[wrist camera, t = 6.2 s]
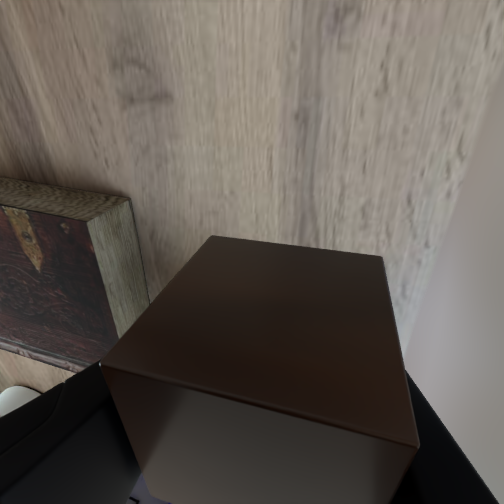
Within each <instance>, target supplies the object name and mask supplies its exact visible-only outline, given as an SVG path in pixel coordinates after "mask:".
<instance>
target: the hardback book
mask: <svg viewBox="0 0 504 504" xmlns="http://www.w3.org/2000/svg"><path fill="white" fill-rule="evenodd" d="M149 305H150V302H149V296H148V291H147V285H146V280H145V274H144V269H143V263H142V258H141V253H140V247H139V242H138V236H137V231H136V225H135V220H134V214H133V209H132V203H131V199H129V198H123V197H117V196H111V195H105V194H99V193H93V192H87V191H81V190H75V189H70V188H64V187H58V186H52V185H46V184H40V183H34V182H28V181H22V180H16V179H10V178H4V177H0V349H3V350H6V351H9V352H12V353H15V354H18V355H21V356H24V357H27V358H31V359H34V360H37V361H40V362H43V363H46V364H49V365H52V366H55V367H58V368H61V369H65V370H68V371H71V372H74V373H78V372H80V371H82V370H83V369H85V368H87V367H88V366H90V365H92V364H93V363H95V362H97V361H98V360H100V359H102V358H103V357H104V356H105V355H106V354H107V353H108V351H109V350H110V349H111V348H112V347H113V346H114V345H115V344H116V342H117V341H118V340H119V339H120V338H121V337H122V336H123V334H124V333H125V332H126V331H127V330H128V329H129V328H130V327H131V325H132V324H133V323H134V322H135V321H136V320H137V319H138V317H139V316H140V315H141V314H142V313H143V312H144V311H145V310H146V308H147V307H148V306H149Z"/></svg>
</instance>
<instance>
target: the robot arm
mask: <svg viewBox="0 0 504 504" xmlns="http://www.w3.org/2000/svg"><path fill="white" fill-rule="evenodd" d="M100 361H101V359H100V360H98V361H97V362H95V363H93V364H92V365H90V366H88V367H87V368H85V369H83V370H82V371H80V372H78V373H77V374H75V375H73V376H72V377H70V378H68V379H67V380H65V382H62V383H60V384H58V385H56V386H55V387H53V388H51V389H50V390H48V391H46V392H45V393H43V394H41V395H40V396H38V397H36V398H34V399H33V400H31V401H29V402H27V403H26V404H24V405H22V406H20V407H19V408H17V409H15V410H13V411H11V412H9V413H7V414H6V415H4V416H2V417H0V504H126V503H127V501H128V499H129V497H130V495H131V493H132V491H133V489H134V487H135V485H136V483H137V481H138V479H139V477H140V475H141V473H142V472H141V469H140V467H139V464H138V462H137V459H136V457H135V454H134V452H133V449H132V447H131V444H130V442H129V439H128V436H127V434H126V431H125V429H124V426H123V424H122V421H121V419H120V416H119V414H118V411H117V409H116V406H115V403H114V401H113V398H112V396H111V393H110V391H109V388H108V386H107V383H106V381H105V378H104V376H103V373H102V370H101V368H100V365H99V364H100ZM405 372H406V377H407V382H408V387H409V392H410V397H411V402H412V407H413V412H414V417H415V422H416V427H417V432H418V437H419V442H420V447H419V449H418V451H417V453H416V455H415V457H414V459H413V461H412V463H411V465H410V467H409V469H408V471H407V473H406V475H405V476H404V478H403V480H402V482H401V484H400V486H399V488H398V490H397V492H396V494H395V496H394V498H393V500H392V502H391V503H390V504H499V503H498V501H497V500H496V498H495V497H494V495H493V494H492V493H491V491H490V490H489V488H488V487H487V485H486V484H485V483H484V481H483V480H482V478H481V477H480V475H479V474H478V473H477V471H476V470H475V468H474V467H473V465H472V464H471V463H470V461H469V460H468V458H467V457H466V455H465V454H464V453H463V451H462V450H461V448H460V447H459V446H458V444H457V443H456V441H455V440H454V439H453V437H452V436H451V434H450V433H449V431H448V430H447V428H446V427H445V426H444V424H443V423H442V421H441V420H440V418H439V417H438V416H437V414H436V413H435V411H434V410H433V408H432V407H431V406H430V404H429V403H428V401H427V400H426V398H425V397H424V396H423V394H422V393H421V391H420V390H419V388H418V387H417V386H416V384H415V383H414V381H413V380H412V378H411V377H410V376H409V374H408V373H407V371H406V370H405Z"/></svg>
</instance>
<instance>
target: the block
mask: <svg viewBox="0 0 504 504" xmlns="http://www.w3.org/2000/svg"><path fill="white" fill-rule="evenodd" d="M99 365H100V368H101V370H102V373H103V376H104V378H105V381H106V383H107V386H108V388H109V391H110V393H111V396H112V398H113V401H114V403H115V406H116V409H117V411H118V414H119V416H120V419H121V421H122V424H123V426H124V429H125V431H126V434H127V436H128V439H129V442H130V444H131V447H132V449H133V452H134V454H135V457H136V459H137V462H138V464H139V467H140V469H141V472H142V475H143V477H144V480H145V482H146V485H147V487H148V490H149V492H150V495H151V496H152V497H155V498H158V499H160V500H163V501H166V502H169V503H171V504H390V503H391V502H392V500H393V498H394V496H395V494H396V492H397V490H398V488H399V486H400V484H401V482H402V480H403V478H404V476H405V475H406V473H407V471H408V469H409V467H410V465H411V463H412V461H413V459H414V457H415V455H416V453H417V451H418V449H419V447H420V442H419V437H418V432H417V427H416V422H415V417H414V412H413V407H412V402H411V397H410V392H409V387H408V382H407V377H406V372H405V367H404V362H403V357H402V352H401V347H400V342H399V337H398V332H397V327H396V322H395V316H394V311H393V306H392V301H391V296H390V291H389V286H388V281H387V276H386V271H385V266H384V261H383V257H381V256H375V255H367V254H359V253H351V252H343V251H335V250H327V249H319V248H311V247H303V246H295V245H287V244H279V243H271V242H263V241H255V240H246V239H238V238H230V237H222V236H214V235H212V236H210V237H209V238H208V239H207V240H206V242H205V243H204V244H203V245H202V246H201V247H200V248H199V249H198V251H197V252H196V253H195V254H194V255H193V256H192V257H191V259H190V260H189V261H188V262H187V263H186V264H185V265H184V266H183V268H182V269H181V270H180V271H179V272H178V273H177V274H176V276H175V277H174V278H173V279H172V280H171V281H170V282H169V283H168V285H167V286H166V287H165V288H164V289H163V290H162V291H161V293H160V294H159V295H158V296H157V297H156V298H155V299H154V300H153V302H152V303H151V304H150V305H149V306H148V307H147V308H146V310H145V311H144V312H143V313H142V314H141V315H140V316H139V317H138V319H137V320H136V321H135V322H134V323H133V324H132V325H131V327H130V328H129V329H128V330H127V331H126V332H125V333H124V334H123V336H122V337H121V338H120V339H119V340H118V341H117V342H116V344H115V345H114V346H113V347H112V348H111V349H110V350H109V351H108V353H107V354H106V355H105V356H104V357H103V358H102V359H101V361H100V364H99Z"/></svg>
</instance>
